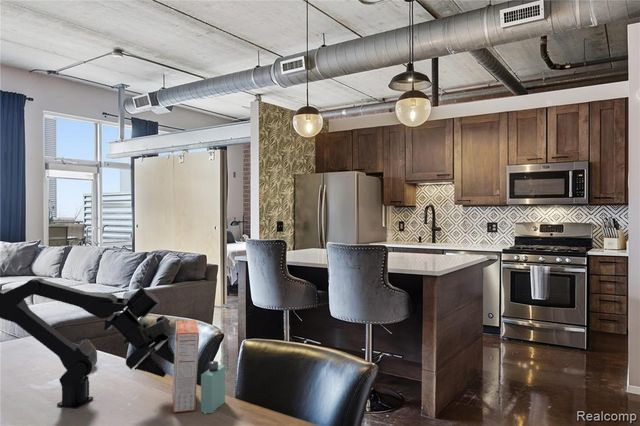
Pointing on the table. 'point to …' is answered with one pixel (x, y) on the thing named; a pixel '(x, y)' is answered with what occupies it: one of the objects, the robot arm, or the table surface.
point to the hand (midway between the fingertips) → (171, 369)
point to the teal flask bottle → (212, 387)
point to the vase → (90, 345)
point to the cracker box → (185, 366)
